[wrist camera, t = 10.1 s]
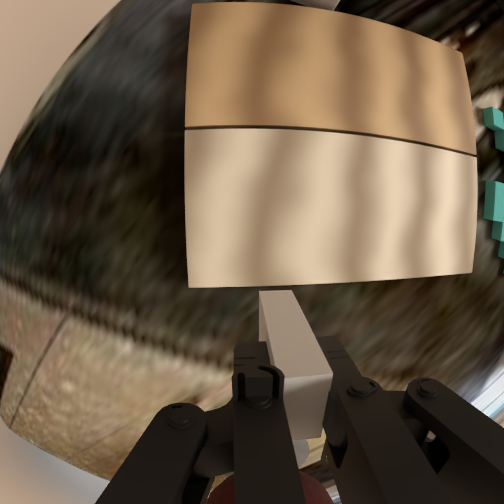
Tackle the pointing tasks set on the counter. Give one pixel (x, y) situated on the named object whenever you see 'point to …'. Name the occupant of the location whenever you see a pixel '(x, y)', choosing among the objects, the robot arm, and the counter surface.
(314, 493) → the mate gourd
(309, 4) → the medicine box
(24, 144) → the counter surface
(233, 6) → the oak board
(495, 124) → the alien figure
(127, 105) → the counter surface
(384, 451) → the robot arm
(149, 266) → the counter surface
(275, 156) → the ash plank
